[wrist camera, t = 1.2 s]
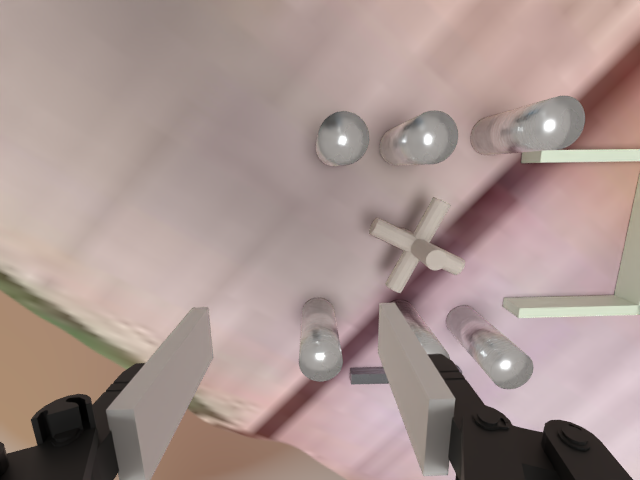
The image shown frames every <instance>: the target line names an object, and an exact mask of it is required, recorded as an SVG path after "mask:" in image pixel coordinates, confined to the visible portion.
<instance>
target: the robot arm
mask: <svg viewBox="0 0 640 480" xmlns="http://www.w3.org/2000/svg"><path fill="white" fill-rule="evenodd" d="M378 354H379V357H380V360H381V362H382V365H383V368H384V371H385V373H386V376H387V379H388V381H389V384H390V387H391V390H392V392H393V395H394V398H395V400H396V403H397V406H398V409H399V411H400V414H401V417H402V419H403V422H404V425H405V428H406V430H407V433H408V436H409V439H410V441H411V444H412V447H413V449H414V452H415V455H416V458H417V460H418V463H419V466H420V468H421V471H422V474H423V476H440V475H448V468H449V460H450V462H451V464H452V466H453V468H454V470H455V472H456V480H633V479H632V478H631V477H630V476H629V474H628V473H627V472H626V471H625V470H624V468H623V467H622V466H621V465H620V464H619V462H618V461H617V460H616V459H615V458H614V456H613V455H612V454H611V453H610V452H609V451H608V449H607V448H606V447H605V446H604V445H603V443H602V442H601V441H600V440H599V439H598V438H597V437H595V436H594V435H593V434H592V433H590V432H589V431H587V430H586V429H584V428H582V427H580V426H578V425H576V424H573V423H571V422H567V421H562V420H550V421H549V422H547V423H545V427H544V431H543V432H538V431H533V430H529V429H524V428H520V427H516V426H513V425H512V424H511V422H510V420H509V419H508V418H507V417H506V416H505V415H504V414H502V413H501V412H499V411H497V410H496V409H494V408H491V407H488V406H486V405H484V403H483V402H482V401H481V399H480V398H479V396H478V395H477V394H476V392H475V391H474V390H473V388H472V387H471V386H470V384H469V383H468V382H467V380H465V378H464V376H463V375H462V373H461V372H459V369H458V368H457V367H456V365H455V364H454V363H453V361H451V360H450V359H448V358H447V357H446V356H444V355H443V354H427V353H426V351H425V350H424V348H423V347H422V345H421V343H420V342H419V340H418V339H417V337H416V335H415V334H414V332H413V331H412V329H411V328H410V326H409V324H408V323H407V321H406V320H405V318H404V316H403V315H402V313H401V312H400V310H399V309H398V307H397V305H396V304H395V303H380V305H379V335H378ZM212 359H213V349H212V339H211V329H210V319H209V309H208V307H201V308H192V309H191V310H190V311H189V312H188V314H187V315H186V316H185V317H184V318H183V320H182V321H181V322H180V323H179V324H178V325H177V327H176V328H175V329H174V330H173V331H172V333H171V334H170V335H169V336H168V337H167V338H166V340H165V341H164V342H163V343H162V344H161V346H160V347H159V348H158V349H157V350H156V351H155V353H154V354H153V355H152V356H151V357H150V359H149V360H148V361H147V362H146V363H139V364H135V365H133V366H131V367H130V368H128V369H127V370H125V371H124V372H123V373H122V374H121V375H120V376H119V377H118V378H117V379H116V380H115V381H114V383H113V384H111V385H110V387H109V388H108V389H107V390H106V392H104V393H103V394H102V395H101V396H100V397H99V399H98V400H97V401H96V402H95V403H94V404H93V405H92V403H91V398H90V397H89V396H87V395H83V394H76V395H70V396H66V397H63V398H60V399H58V400H55V401H54V402H52V403H50V404H48V405H46V406H44V407H43V408H42V409H41V410H39V411H38V412H37V413H36V414H35V415H34V416H33V417H32V419H31V422H32V426H33V430H34V434H35V437H36V441H37V446H35V447H31V448H27V449H23V450H20V451H16V452H12V453H8V454H6V450H5V447H4V444H3V443H1V442H0V480H113V479H114V478H115V477H116V475H117V473H118V475H119V480H151V478H152V476H153V474H154V472H155V470H156V468H157V466H158V464H159V462H160V460H161V458H162V456H163V454H164V453H165V451H166V449H167V447H168V445H169V443H170V441H171V439H172V437H173V435H174V433H175V431H176V429H177V427H178V425H179V423H180V421H181V419H182V417H183V416H184V414H185V411H186V410H187V408H188V406H189V404H190V402H191V400H192V398H193V396H194V394H195V392H196V390H197V388H198V386H199V384H200V382H201V380H202V379H203V377H204V375H205V373H206V371H207V369H208V367H209V365H210V363H211V361H212Z"/></svg>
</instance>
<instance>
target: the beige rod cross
mask: <svg viewBox="0 0 640 480" xmlns="http://www.w3.org/2000/svg"><path fill="white" fill-rule="evenodd" d="M450 206H451V205H450V204H448V203H446V202H444V201H442V200H440V199H437V198H434V197H433V199H432V201H431V202H430V204H429V206H428V208H427V210H426V211H425V213H424V215H423V217H422V219H421V220H420V222H419V224H418V226H417V228H416V229H415V231H414V233H412V232H411V231H409V230H407V229H405V228H401V229H400V228H398V227H396V226H394V225H392V224H390V223H388V222H386V221H384V220H382V219H380V218H376V219H375V220H374V221H373V223H372V225H371V227H370V230H369V234H370V235H373V236H375V237H377V238H379V239H381V240H383V241H385V242H387V243H389V244H391V245H393V246H395V247H398V248H400V249H402V250H404V251H403V253H402V255H401V256H400V258H399V260H398V262H397V264H396V265H395V267H394V269H393V271H392V273H391V274H390V276H389V278H388V280H387V282H386V283H385V285H386V286H387V287H389V288H390V289H392V290H394V291H396V292H398V293H401V292H402V290H403V288H404V286H405V285H406V283H407V281H408V279H409V278H410V276H411V274H412V272H413V271H414V269H415V267H416V265H417V264H418V262H419V260H420V261H421V262H422V263H424V264H425V265H426V266H427V267H428V268H430V269H431V270H439V269H444V270H446V271H448V272H450V273H452V274H454V275H458V274H459V273H461V271H462V270H463V268H464V266H465V261H464V260H463V259H462V258H460V257H458V256H456V255H453V254H451V253H449V252H447V251H445V250H443V249H441V248H439V247H437V246H435V245H433V244H431V243H430V241H431V239H432V237H433V236H434V234H435V232H436V230H437V229H438V227H439V225H440V223H441V222H442V220H443V218H444V216H445V215H446V213H447V211H448V209H449V208H450Z"/></svg>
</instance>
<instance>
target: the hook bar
mask: <svg viewBox="0 0 640 480" xmlns="http://www.w3.org/2000/svg"><path fill="white" fill-rule="evenodd" d="M456 367H457V368H458V369H459V372H461V373H462V371H461V370H460V368H459V367H458V366H456ZM350 380H351V384H388V383H389V381H388V379H387V376H386V373H385V371H384V368H383V367H367V368H350Z"/></svg>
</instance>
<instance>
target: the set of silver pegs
mask: <svg viewBox="0 0 640 480" xmlns="http://www.w3.org/2000/svg"><path fill="white" fill-rule="evenodd" d="M584 123H585V113H584V109H583V107H582V105H581V104H580V103H579V101H577V100H576V99H575V98H573V97H570V96H558V97H554V98H551V99H548V100H544V101H541V102H537V103H534V104H530V105H527V106H524V107H520V108H517V109H513V110H510V111H507V112H503V113H500V114H496V115H493V116H489V117H486V118H483V119H481V120H480V121H479V122H477V123H476V125H475V126H474V128H473V129H472V132H471V144H472V147H473V148H474V150H475V151H476V152H478V153H480V154H482V155H494V154H507V153H520V152H532V151H545V150H558V149H563V148H566V147H568V146H569V145H571V144H572V143H573V142H575V141H576V140H577V138H578V137H579V136H580V134H581V132H582V130H583V127H584ZM457 141H458V130H457V126H456V124H455V122H454V121H453V119H452V118H451V117H450V116H449V115H447V114H446V113H444V112H441V111H428V112H425V113H423V114H421V115H419V116H417V117H415V118H413V119H411V120H409V121H407V122H405V123H403V124H401V125H399V126H397V127H395V128H393V129H391V130H389V131H387V132H386V133H385V134H384V136H383V137H382V139H381V142H380V153H381V156H382V158H383V159H384V160H385V161H386V162H387V163H389V164H391V165H422V164H436V163H439V162H442V161H444V160H445V159H447V158H448V157H449V156H450V155H451V154H452V152H453V151H454V149H455V147H456V144H457ZM368 144H369V132H368V128H367V126H366V124H365V123H364V121H363V120H362V119H361V118H360V117H359V116H357V115H356V114H354V113H351V112H347V111H341V112H336V113H334V114H332V115H330V116H329V117H327V118H326V119H325V120H324V122H323V123H322V125H321V127H320V129H319V132H318V137H317V141H316V153H317V156H318V158H319V159H320V160H321V161H322V162H323V163H324V164H326V165H329V166H342V165H349V164H352V163H354V162H356V161H358V160H359V159H360V158H361V157H362V156H363V155H364V153H365V152H366V150H367V147H368ZM390 303H395V304H396V305H397V307H398V309H399V310H400V312H401V313H402V315H403V316H404V318H405V320H406V321H407V323H408V324H409V326H410V328H411V329H412V331H413V332H414V334H415V335H416V337H417V339H418V340H419V342H420V343H421V345H422V347H423V348H424V350H425V351H426V353H427V354H443V355H444V356H446V357H447V358H448V359H450V357H449V355H448V353H447V351H446V350H445V349H444V347H443V346H442V345H441V343H440V342H439V341H438V339H437V338H436V337H435V335H434V334H433V333H432V331H431V330H430V329H429V327H428V326H427V325H426V323H425V322H424V321H423V319H422V318H421V317H420V315H419V314H418V313H417V311H416V310H415V308H414V307H413V306H412V305H411V304H410V303H409V302H408V301H405V300H395V301H392V302H390ZM446 325H447V328H448V329H449V331H450V332H451V333H452V334H453V335H454V336H455V338H456V339H457V340H458V341H459V342H460V343H461V345H462V346H463V347H464V348H465V349H466V350H467V352H468V353H469V354H470V355H471V356H472V357H473V359H474V360H475V361H476V362H477V363H478V364H479V365H480V367H481V368H482V369H483V370H484V371H485V372H486V374H487V375H488V376H489V377H490V378H491V379H492V381H493V382H494V383H495V384H496V385H497V386H499V387H501V388H504V389H514V388H518V387H520V386H522V385H523V384H525V383H526V382H527V381H528V380H529V379H530V377H531V375H532V373H533V363H532V360H531V359H530V357H529V356H527V355H526V354H525V353H524V352H523V351H522V350H520V349H519V348H518V347H517V346H516V345H515V344H513V343H512V342H511V341H510V340H509V339H508V338H507V337H505V336H504V335H503V334H502V333H501V332H500V331H498V330H497V329H496V328H495V327H494V326H493V325H491V324H490V323H489V322H488V321H487V320H486V319H484V318H483V317H482V316H481V315H480V314H479V313H477V312H476V311H475V310H474V309H473V308H471V307H469V306H458V307H456V308H454V309H453V310H451V311H450V313H449V314H448V316H447V318H446ZM342 364H343V359H342V353H341V347H340V341H339V336H338V330H337V324H336V318H335V312H334V308H333V306H332V304H331V303H330V302H329V301H328V300H326V299H323V298H313V299H311V300H309V301H308V302H306V304H305V305H304V306H303V309H302V319H301V336H300V353H299V366H300V369H301V371H302V373H303V374H304V375H305V376H306V377H307V378H309V379H311V380H314V381H327V380H330V379H332V378H333V377H335V376H336V375H337V374H338V373H339V372H340V370H341V368H342Z"/></svg>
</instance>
